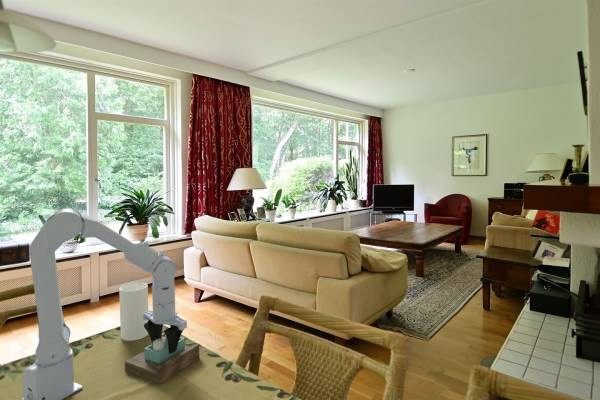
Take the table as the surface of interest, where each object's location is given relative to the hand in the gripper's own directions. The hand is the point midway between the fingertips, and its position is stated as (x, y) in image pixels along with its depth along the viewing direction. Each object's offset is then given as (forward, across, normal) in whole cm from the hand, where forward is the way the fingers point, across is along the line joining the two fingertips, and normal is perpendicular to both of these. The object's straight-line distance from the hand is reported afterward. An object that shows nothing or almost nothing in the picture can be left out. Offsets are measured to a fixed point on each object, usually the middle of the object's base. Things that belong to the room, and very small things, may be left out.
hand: (164, 349), depth 98 cm
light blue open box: (+2, 0, 0) cm, 2 cm away
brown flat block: (+4, +1, 0) cm, 4 cm away
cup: (+5, +22, -8) cm, 24 cm away
